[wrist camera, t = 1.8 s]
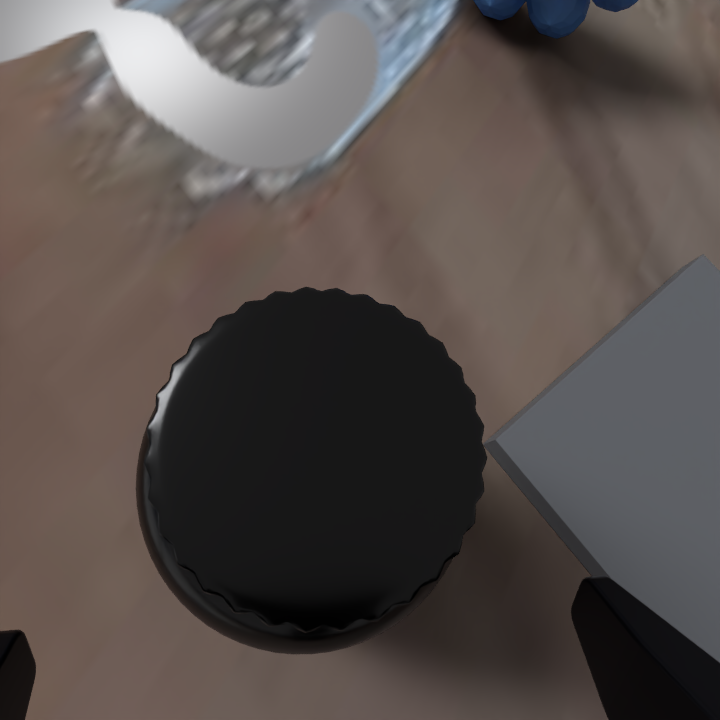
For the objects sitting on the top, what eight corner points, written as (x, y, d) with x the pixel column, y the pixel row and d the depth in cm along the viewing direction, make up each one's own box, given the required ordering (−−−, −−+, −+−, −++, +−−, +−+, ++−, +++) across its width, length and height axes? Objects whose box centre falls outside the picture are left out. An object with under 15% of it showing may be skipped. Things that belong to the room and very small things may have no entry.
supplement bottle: (341, 367, 20) (428, 167, 9) (426, 535, 19) (656, 556, 7) (164, 445, 18) (-14, 322, 7) (245, 638, 17) (185, 871, 6)
